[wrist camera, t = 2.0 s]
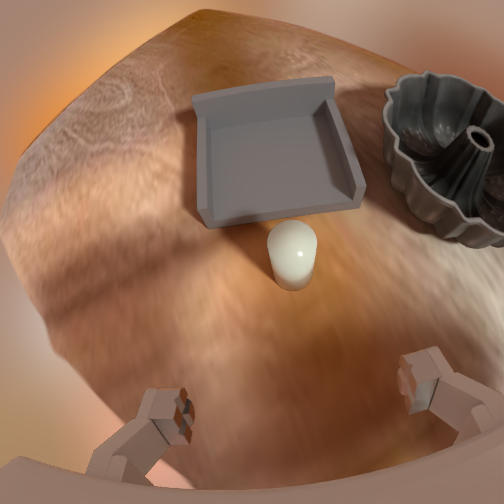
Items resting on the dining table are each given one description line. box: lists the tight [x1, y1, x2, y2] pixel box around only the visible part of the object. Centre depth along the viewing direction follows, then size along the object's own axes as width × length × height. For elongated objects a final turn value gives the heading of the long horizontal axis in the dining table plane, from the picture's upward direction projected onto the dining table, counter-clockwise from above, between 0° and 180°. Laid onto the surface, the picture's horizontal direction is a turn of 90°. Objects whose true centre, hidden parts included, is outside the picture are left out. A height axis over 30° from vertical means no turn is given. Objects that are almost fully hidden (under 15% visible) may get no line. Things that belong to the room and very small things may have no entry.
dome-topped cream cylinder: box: [267, 220, 317, 291], centre depth 32 cm, size 4×4×8 cm
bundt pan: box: [382, 71, 504, 249], centre depth 33 cm, size 26×26×10 cm
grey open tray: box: [192, 76, 367, 229], centre depth 38 cm, size 16×19×8 cm
